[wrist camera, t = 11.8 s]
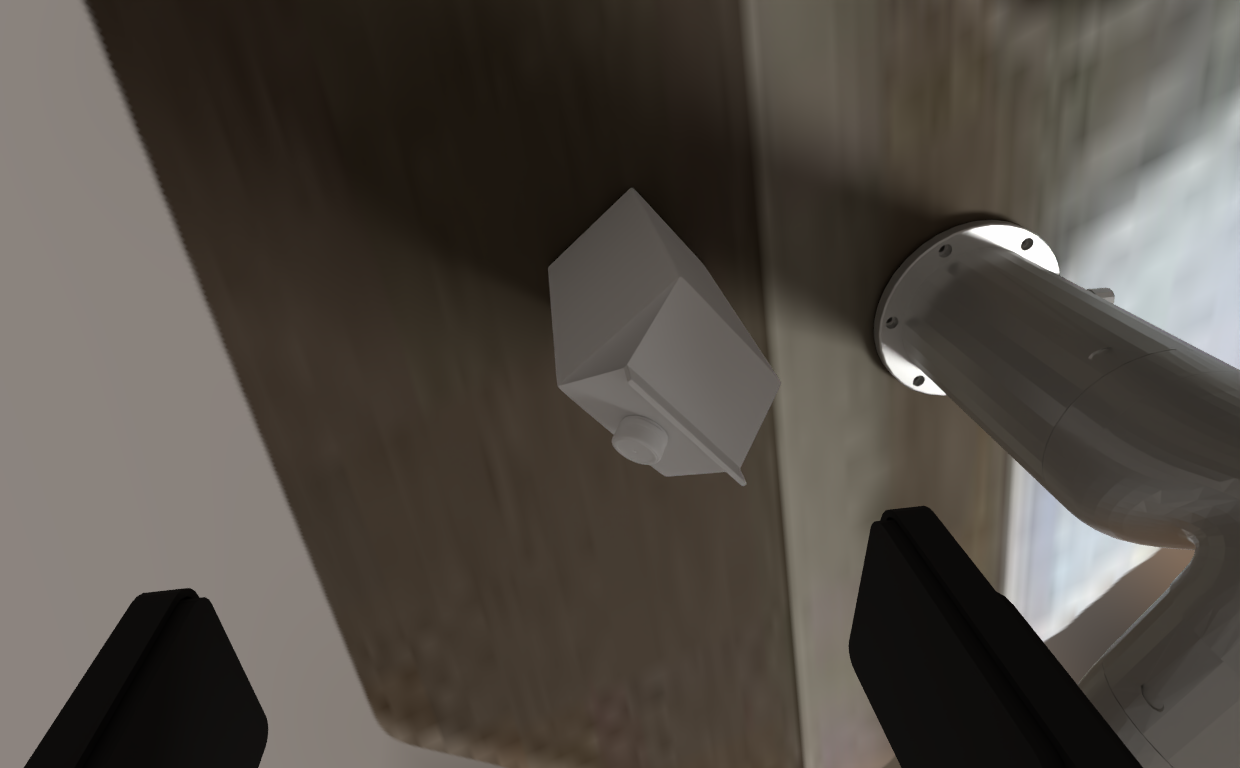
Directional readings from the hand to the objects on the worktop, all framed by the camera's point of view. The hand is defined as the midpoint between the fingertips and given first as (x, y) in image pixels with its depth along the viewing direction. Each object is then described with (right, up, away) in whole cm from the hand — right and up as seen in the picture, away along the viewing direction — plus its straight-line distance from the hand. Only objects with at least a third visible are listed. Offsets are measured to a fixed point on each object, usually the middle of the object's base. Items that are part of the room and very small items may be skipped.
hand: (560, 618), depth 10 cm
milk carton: (+1, +11, +33) cm, 35 cm away
